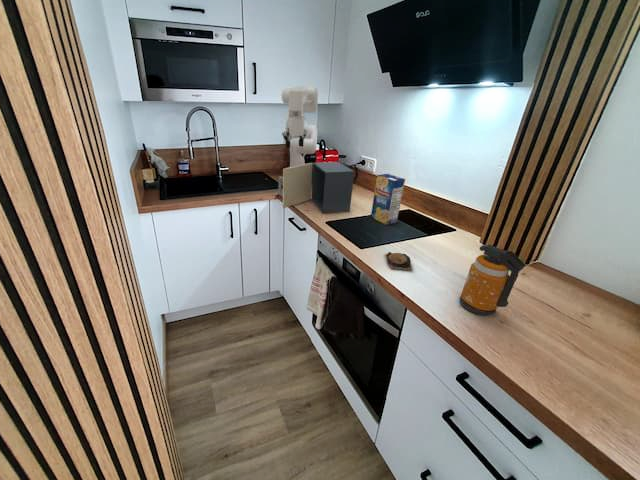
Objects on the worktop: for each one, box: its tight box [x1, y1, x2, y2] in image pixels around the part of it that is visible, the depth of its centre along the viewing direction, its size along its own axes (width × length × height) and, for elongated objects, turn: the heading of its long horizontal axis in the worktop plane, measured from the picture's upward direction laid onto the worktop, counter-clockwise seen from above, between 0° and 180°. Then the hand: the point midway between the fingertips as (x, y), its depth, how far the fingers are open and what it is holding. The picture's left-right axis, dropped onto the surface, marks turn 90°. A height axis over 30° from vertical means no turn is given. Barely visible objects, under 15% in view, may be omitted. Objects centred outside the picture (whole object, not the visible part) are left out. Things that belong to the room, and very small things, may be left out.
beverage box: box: [370, 173, 406, 226], centre depth 138 cm, size 7×11×22 cm, turn 26°
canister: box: [459, 243, 527, 316], centre depth 80 cm, size 9×11×20 cm
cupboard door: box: [277, 162, 314, 209], centre depth 160 cm, size 7×22×22 cm, turn 133°
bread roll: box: [385, 251, 413, 272], centre depth 106 cm, size 11×8×4 cm
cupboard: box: [310, 161, 355, 214], centre depth 157 cm, size 15×22×22 cm
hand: (294, 147), depth 158 cm, fingers open, 9 cm apart
